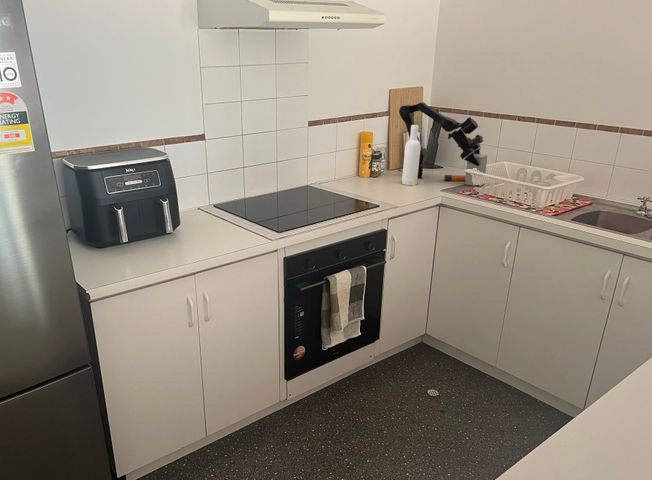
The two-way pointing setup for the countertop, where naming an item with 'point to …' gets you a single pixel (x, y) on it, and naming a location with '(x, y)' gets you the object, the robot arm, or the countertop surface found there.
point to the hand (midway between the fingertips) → (480, 163)
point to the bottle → (411, 158)
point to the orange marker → (454, 178)
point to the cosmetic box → (482, 167)
